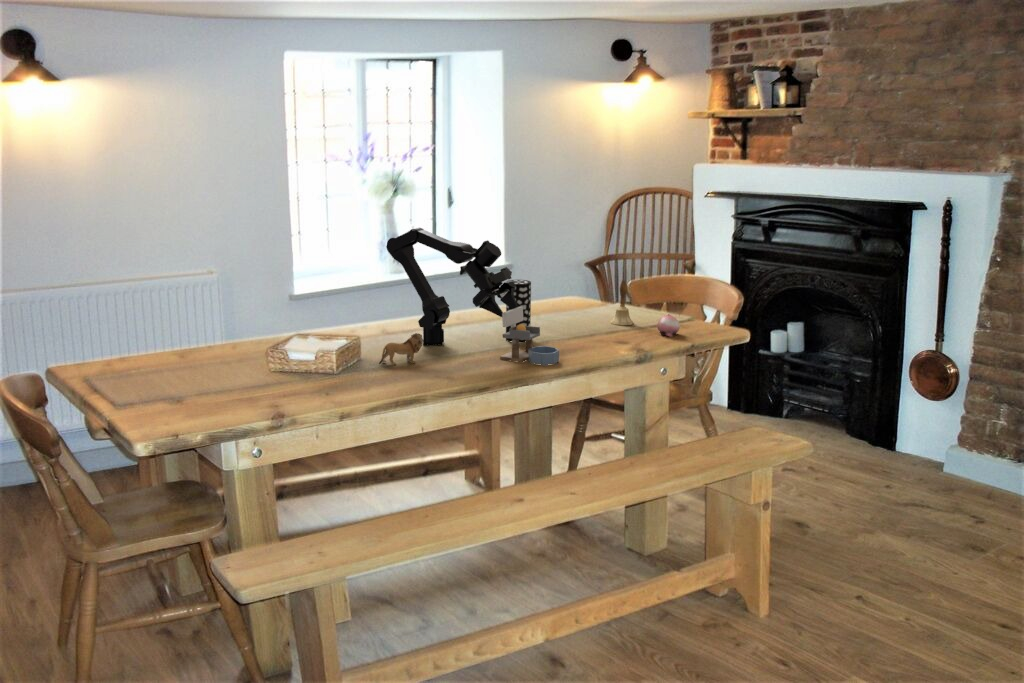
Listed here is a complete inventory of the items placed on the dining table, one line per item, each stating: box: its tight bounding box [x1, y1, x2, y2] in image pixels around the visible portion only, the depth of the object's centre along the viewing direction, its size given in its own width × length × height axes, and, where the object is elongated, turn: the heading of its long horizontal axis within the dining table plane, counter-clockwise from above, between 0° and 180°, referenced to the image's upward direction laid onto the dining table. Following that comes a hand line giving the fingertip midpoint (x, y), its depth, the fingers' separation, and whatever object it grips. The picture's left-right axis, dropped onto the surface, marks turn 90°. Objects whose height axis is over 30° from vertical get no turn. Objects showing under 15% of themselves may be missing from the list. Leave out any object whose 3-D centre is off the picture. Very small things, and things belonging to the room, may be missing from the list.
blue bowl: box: [527, 345, 560, 366], centre depth 341 cm, size 9×9×4 cm
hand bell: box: [610, 279, 634, 326], centre depth 392 cm, size 8×8×16 cm
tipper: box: [501, 307, 541, 340], centre depth 343 cm, size 10×11×8 cm
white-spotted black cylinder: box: [505, 279, 532, 343], centre depth 366 cm, size 8×8×20 cm
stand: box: [499, 339, 533, 363], centre depth 345 cm, size 8×11×7 cm
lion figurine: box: [378, 332, 423, 366], centre depth 338 cm, size 15×5×9 cm, turn 117°
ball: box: [516, 324, 526, 331], centre depth 343 cm, size 3×3×3 cm
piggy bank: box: [656, 313, 681, 338], centre depth 377 cm, size 8×8×7 cm
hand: (510, 313), depth 344 cm, fingers open, 9 cm apart
